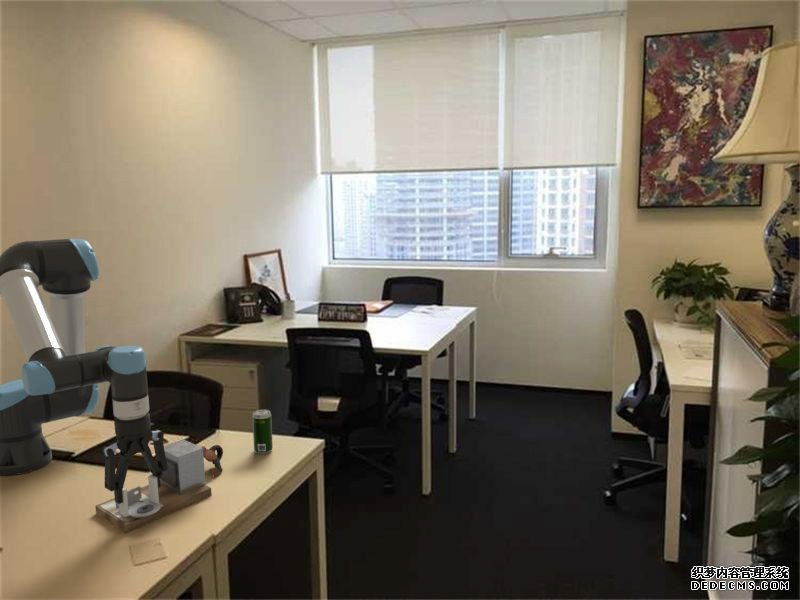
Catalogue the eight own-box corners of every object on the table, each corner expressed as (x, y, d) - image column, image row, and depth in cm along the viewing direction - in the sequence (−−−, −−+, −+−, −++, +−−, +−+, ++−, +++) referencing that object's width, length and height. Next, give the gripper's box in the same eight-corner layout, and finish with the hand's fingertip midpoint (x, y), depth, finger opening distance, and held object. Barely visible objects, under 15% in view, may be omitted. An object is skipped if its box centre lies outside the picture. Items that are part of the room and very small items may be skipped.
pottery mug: (210, 485, 163) (193, 460, 162) (189, 492, 168) (171, 468, 166) (237, 456, 173) (220, 433, 172) (216, 464, 178) (200, 441, 176)
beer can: (272, 453, 181) (271, 414, 179) (254, 455, 180) (252, 416, 178) (272, 446, 186) (270, 408, 184) (254, 448, 185) (252, 410, 183)
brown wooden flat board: (96, 513, 148) (95, 505, 147) (180, 479, 165) (179, 471, 165) (125, 533, 139) (125, 524, 139) (211, 495, 157) (211, 487, 156)
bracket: (141, 522, 139) (140, 508, 138) (115, 510, 145) (114, 496, 144) (166, 510, 144) (165, 496, 144) (140, 498, 150) (139, 485, 149)
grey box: (158, 485, 157) (155, 448, 156) (185, 474, 163) (182, 439, 162) (178, 496, 152) (175, 458, 150) (205, 484, 158) (203, 447, 156)
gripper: (96, 431, 131) (105, 531, 135) (180, 406, 146) (186, 496, 150) (80, 423, 135) (89, 520, 139) (162, 399, 150) (169, 487, 155)
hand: (139, 507), depth 145 cm, fingers closed on bracket, 7 cm apart
